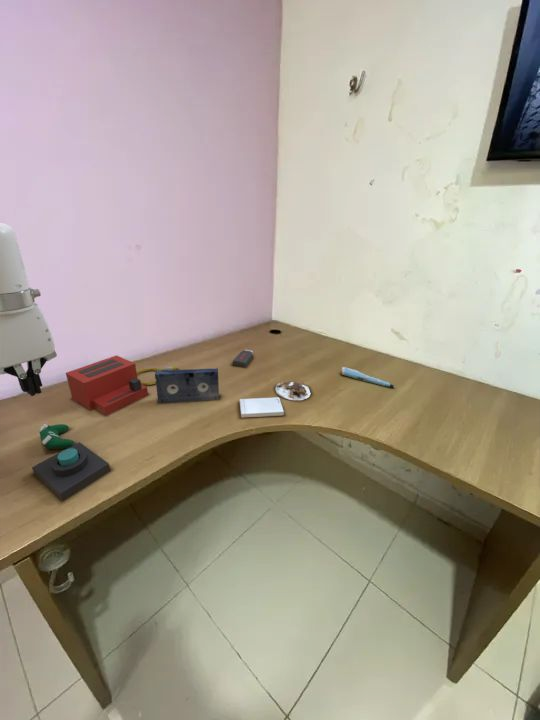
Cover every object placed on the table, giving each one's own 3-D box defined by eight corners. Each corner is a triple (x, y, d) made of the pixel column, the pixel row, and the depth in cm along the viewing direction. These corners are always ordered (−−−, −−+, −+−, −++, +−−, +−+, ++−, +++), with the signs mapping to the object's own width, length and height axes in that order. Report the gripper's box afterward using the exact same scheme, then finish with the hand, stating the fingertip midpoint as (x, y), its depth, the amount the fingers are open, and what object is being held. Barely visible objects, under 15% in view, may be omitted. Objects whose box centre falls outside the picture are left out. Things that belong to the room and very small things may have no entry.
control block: (34, 474, 67) (29, 460, 65) (81, 449, 75) (77, 435, 73) (62, 501, 61) (57, 486, 60) (110, 470, 69) (107, 457, 67)
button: (56, 461, 66) (54, 455, 65) (73, 452, 69) (71, 446, 68) (64, 469, 64) (62, 462, 63) (82, 459, 67) (80, 452, 66)
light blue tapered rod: (339, 375, 115) (340, 368, 114) (342, 372, 118) (343, 365, 117) (393, 390, 107) (395, 383, 106) (395, 386, 110) (396, 379, 108)
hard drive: (279, 396, 97) (239, 398, 95) (284, 411, 90) (241, 413, 88) (278, 401, 98) (239, 402, 96) (283, 416, 90) (241, 418, 89)
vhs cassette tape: (219, 395, 99) (218, 367, 95) (219, 400, 97) (218, 372, 92) (159, 398, 96) (155, 369, 92) (157, 403, 94) (154, 374, 90)
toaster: (72, 399, 94) (65, 372, 90) (120, 379, 106) (116, 354, 102) (102, 417, 86) (96, 389, 82) (151, 393, 98) (147, 368, 95)
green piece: (59, 436, 81) (35, 430, 77) (69, 424, 81) (45, 417, 77) (66, 456, 75) (40, 450, 70) (76, 443, 75) (51, 436, 71)
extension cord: (174, 386, 103) (173, 381, 102) (125, 386, 102) (124, 381, 101) (181, 369, 114) (180, 364, 113) (137, 369, 113) (136, 364, 112)
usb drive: (232, 365, 119) (232, 359, 118) (242, 353, 130) (242, 347, 128) (245, 367, 118) (245, 361, 117) (254, 355, 128) (254, 349, 127)
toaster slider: (130, 389, 95) (128, 380, 93) (136, 386, 96) (135, 377, 95) (134, 391, 93) (133, 383, 92) (141, 388, 95) (140, 380, 94)
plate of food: (318, 396, 101) (320, 386, 100) (287, 404, 96) (287, 394, 94) (300, 380, 110) (301, 371, 109) (270, 387, 105) (270, 377, 104)
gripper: (43, 289, 60) (64, 372, 68) (-62, 303, 49) (-23, 401, 57) (63, 297, 57) (82, 383, 65) (-46, 314, 45) (-6, 417, 53)
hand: (33, 392), depth 61 cm, fingers closed
